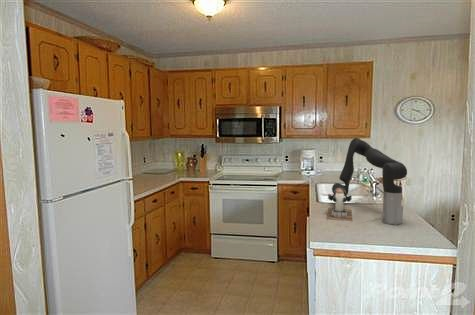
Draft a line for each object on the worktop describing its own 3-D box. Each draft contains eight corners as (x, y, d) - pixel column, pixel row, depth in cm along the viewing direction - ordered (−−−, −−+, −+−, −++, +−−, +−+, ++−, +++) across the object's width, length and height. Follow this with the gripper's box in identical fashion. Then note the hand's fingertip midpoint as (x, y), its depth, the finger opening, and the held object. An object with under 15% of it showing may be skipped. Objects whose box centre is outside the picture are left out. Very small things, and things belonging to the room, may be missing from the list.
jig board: (328, 210, 206) (328, 208, 206) (351, 211, 201) (351, 209, 201) (326, 221, 181) (326, 219, 181) (352, 223, 177) (352, 221, 177)
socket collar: (332, 213, 192) (332, 208, 192) (346, 214, 190) (347, 209, 189) (331, 217, 184) (331, 212, 184) (347, 218, 182) (347, 213, 181)
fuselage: (344, 213, 186) (345, 189, 185) (339, 214, 184) (340, 190, 182) (338, 211, 190) (339, 188, 189) (333, 212, 188) (334, 188, 186)
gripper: (328, 188, 202) (326, 193, 185) (352, 189, 197) (352, 195, 181) (327, 199, 202) (326, 206, 186) (351, 201, 198) (352, 208, 182)
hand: (339, 200), depth 184 cm, fingers closed on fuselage, 4 cm apart
